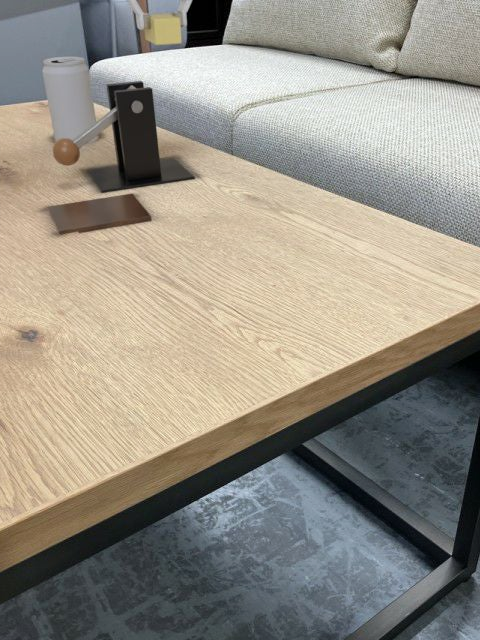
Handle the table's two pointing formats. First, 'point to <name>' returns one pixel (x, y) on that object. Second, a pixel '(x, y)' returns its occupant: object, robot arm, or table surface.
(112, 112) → the arm
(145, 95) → the black lever stand
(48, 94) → the beverage can
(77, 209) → the board
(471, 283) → the table surface
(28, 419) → the table surface
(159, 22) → the butter
